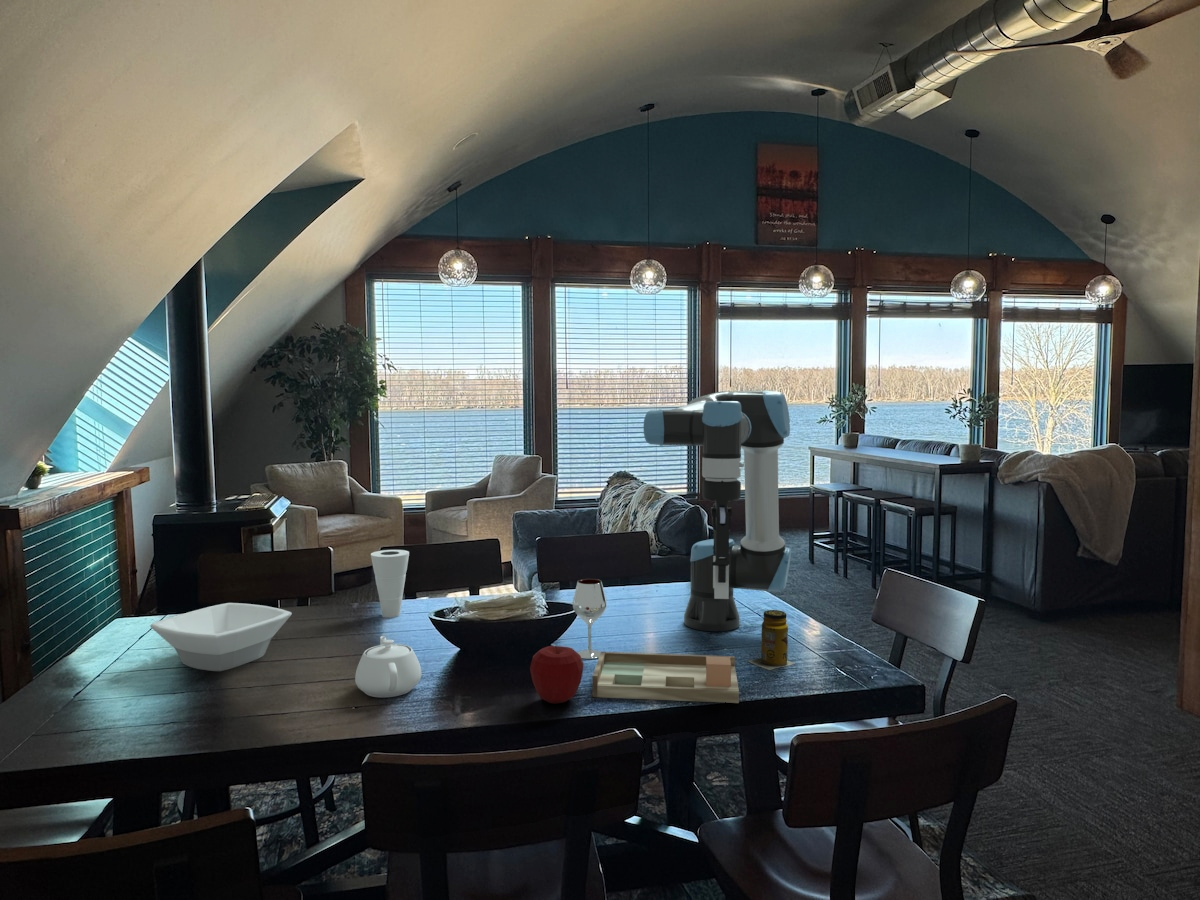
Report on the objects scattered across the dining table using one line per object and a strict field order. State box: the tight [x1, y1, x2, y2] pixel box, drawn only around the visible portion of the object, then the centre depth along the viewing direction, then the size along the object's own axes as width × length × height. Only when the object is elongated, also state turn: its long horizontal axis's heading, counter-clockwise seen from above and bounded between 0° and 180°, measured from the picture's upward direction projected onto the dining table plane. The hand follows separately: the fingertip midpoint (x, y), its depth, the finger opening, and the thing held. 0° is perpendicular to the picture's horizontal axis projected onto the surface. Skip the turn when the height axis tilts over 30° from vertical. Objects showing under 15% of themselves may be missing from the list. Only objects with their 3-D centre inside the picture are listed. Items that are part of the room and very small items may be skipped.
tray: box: [592, 651, 740, 704], centre depth 172 cm, size 16×30×4 cm, turn 84°
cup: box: [370, 549, 410, 619], centre depth 228 cm, size 11×11×18 cm
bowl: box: [150, 602, 292, 672], centre depth 190 cm, size 24×25×10 cm
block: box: [706, 656, 731, 686], centre depth 168 cm, size 5×5×4 cm
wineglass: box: [572, 578, 608, 660], centre depth 192 cm, size 8×8×18 cm
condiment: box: [747, 609, 796, 671], centre depth 187 cm, size 7×8×12 cm
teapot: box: [354, 635, 422, 698], centre depth 170 cm, size 22×14×11 cm, turn 21°
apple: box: [529, 645, 585, 705], centre depth 163 cm, size 11×11×12 cm
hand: (720, 592), depth 159 cm, fingers open, 8 cm apart
